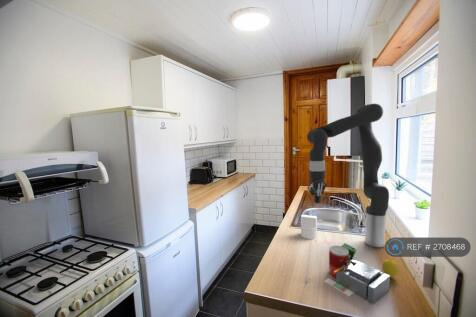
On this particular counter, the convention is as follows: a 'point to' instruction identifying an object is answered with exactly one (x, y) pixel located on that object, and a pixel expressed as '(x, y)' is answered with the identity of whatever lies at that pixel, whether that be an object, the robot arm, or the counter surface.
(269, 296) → the counter surface
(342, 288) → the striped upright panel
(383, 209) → the robot arm
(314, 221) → the white container
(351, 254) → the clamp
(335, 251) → the canned food
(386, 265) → the lemon
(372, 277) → the box
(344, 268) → the plunger
